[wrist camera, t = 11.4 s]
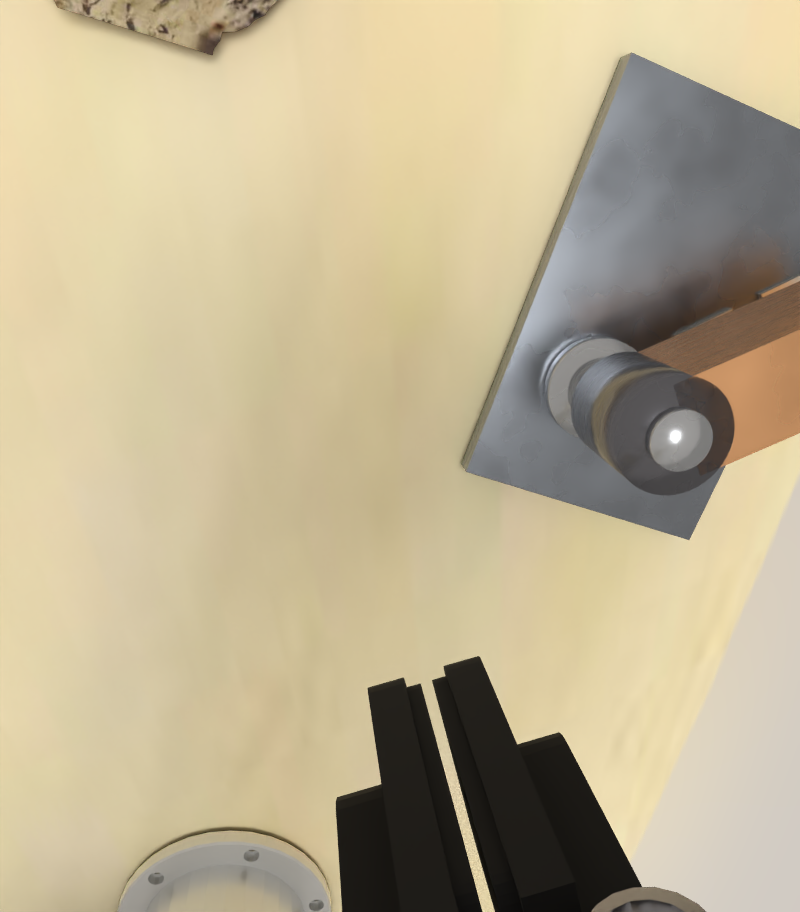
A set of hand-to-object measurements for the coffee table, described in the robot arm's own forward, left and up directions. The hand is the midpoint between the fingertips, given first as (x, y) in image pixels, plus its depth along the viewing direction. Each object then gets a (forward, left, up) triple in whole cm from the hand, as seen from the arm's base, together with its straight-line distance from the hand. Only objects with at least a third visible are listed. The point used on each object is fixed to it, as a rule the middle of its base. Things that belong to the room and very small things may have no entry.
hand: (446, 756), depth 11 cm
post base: (+7, -14, -27) cm, 31 cm away
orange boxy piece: (+7, -15, -22) cm, 28 cm away
